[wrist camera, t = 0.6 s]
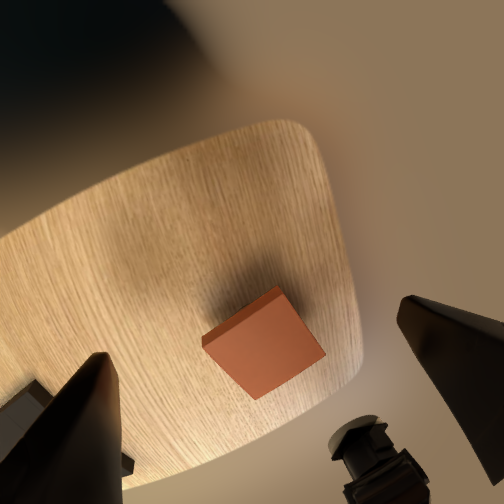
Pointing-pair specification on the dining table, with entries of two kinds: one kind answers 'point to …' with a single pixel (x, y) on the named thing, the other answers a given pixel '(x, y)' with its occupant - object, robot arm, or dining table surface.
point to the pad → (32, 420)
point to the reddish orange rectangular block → (263, 344)
